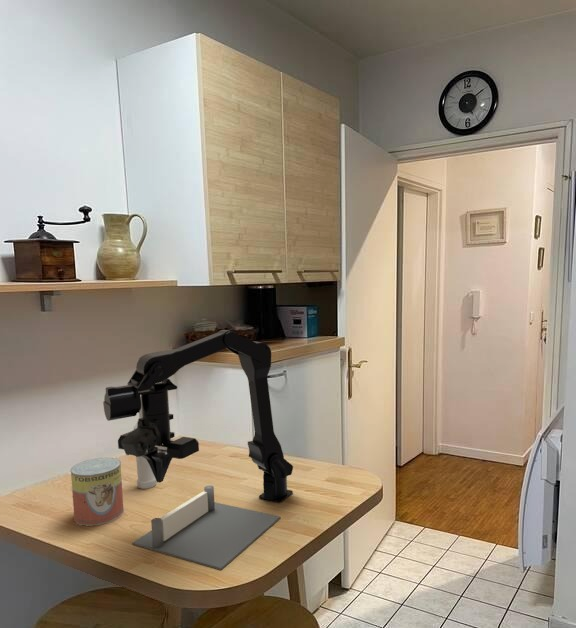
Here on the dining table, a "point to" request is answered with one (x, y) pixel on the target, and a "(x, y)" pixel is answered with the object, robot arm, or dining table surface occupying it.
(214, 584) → the dining table surface
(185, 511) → the gate
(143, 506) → the dining table surface
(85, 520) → the canned food
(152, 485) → the bottle
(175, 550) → the plate with peg
